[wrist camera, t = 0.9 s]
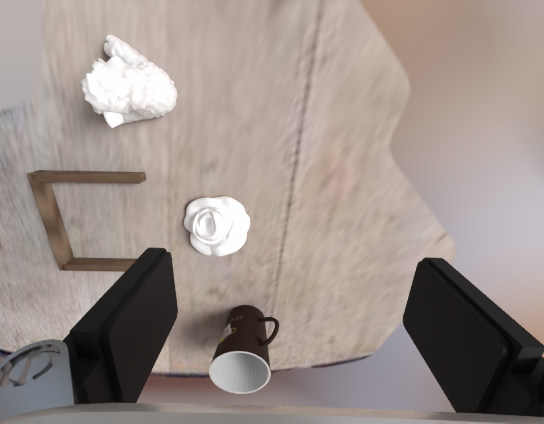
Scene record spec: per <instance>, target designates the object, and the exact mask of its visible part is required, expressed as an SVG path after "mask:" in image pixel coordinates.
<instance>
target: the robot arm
mask: <svg viewBox="0 0 544 424" xmlns="http://www.w3.org/2000/svg"><path fill="white" fill-rule="evenodd" d="M177 313H178V308H177V299H176V291H175V282H174V274H173V266H172V257H171V253H170V252H167V251H166V249H165V248H148V249H146V250H145V252H144V253H143V254H142V255H141V256H140V257H139V258H138V259H137V260H136V261H135V262H134V263H133V264H132V265H131V266H130V267H129V269H128V270H127V271H126V272H125V273H124V274H123V275H122V276H121V277H120V278H119V279H118V280H117V281H116V282H115V283H114V284H113V286H112V287H111V288H110V289H109V290H108V291H107V292H106V293H105V294H104V295H103V296H102V297H101V298H100V299H99V300H98V301H97V303H96V304H95V305H94V306H93V307H92V308H91V309H90V310H89V311H88V312H87V313H86V314H85V315H84V316H83V317H82V318H81V320H80V321H79V322H78V323H77V324H76V325H75V326H74V327H73V328H72V329H71V330H70V333H69V334H68V335H67V337H66V338H65V339H64V340H63V341H61V340H54V339H50V340H43V341H39V342H36V343H32V344H30V345H27V346H25V347H23V348H21V349H19V350H17V351H16V352H14V353H12V354H11V355H9V356H7V357H6V358H5V359H4V360H3V361H1V362H0V424H544V358H543V357H542V354H543V353H544V345H543V344H541V343H540V342H539V341H538V340H537V339H535V338H534V337H533V336H532V335H531V334H530V333H529V332H527V331H526V330H525V329H524V328H523V327H522V326H521V325H519V324H518V323H517V322H516V321H515V320H514V319H512V318H511V317H510V316H509V315H508V314H506V313H505V312H504V311H503V310H502V309H501V308H500V307H498V306H497V305H496V304H495V303H494V302H493V301H492V300H490V299H489V298H488V297H487V296H486V295H485V294H484V293H482V292H481V291H480V290H479V289H478V288H476V287H475V286H474V285H473V284H472V283H471V282H470V281H468V280H467V279H466V278H465V277H464V276H463V275H462V274H460V273H459V272H458V271H457V270H456V269H454V268H453V267H452V266H451V265H450V264H449V263H448V262H446V261H445V260H444V259H442V258H424V259H423V260H422V261H420V262H419V263H418V264H417V268H416V271H415V275H414V279H413V282H412V286H411V290H410V293H409V297H408V301H407V304H406V308H405V312H404V315H403V324H404V327H405V329H406V330H407V332H408V334H409V335H410V337H411V339H412V340H413V342H414V344H415V345H416V347H417V349H418V350H419V352H420V354H421V355H422V357H423V358H424V360H425V362H426V363H427V365H428V367H429V368H430V370H431V372H432V373H433V375H434V377H435V378H436V380H437V382H438V383H439V385H440V386H441V388H442V390H443V391H444V393H445V395H446V396H447V398H448V400H449V401H450V403H451V405H452V406H453V408H454V410H455V411H456V413H451V412H450V413H449V412H426V411H401V410H374V409H373V410H372V409H344V408H316V407H285V406H252V405H214V404H179V403H178V404H177V403H136V402H137V400H138V398H139V396H140V394H141V391H142V389H143V387H144V385H145V383H146V381H147V379H148V377H149V375H150V373H151V371H152V368H153V366H154V364H155V362H156V360H157V358H158V356H159V354H160V352H161V350H162V348H163V346H164V343H165V341H166V339H167V337H168V335H169V333H170V331H171V329H172V327H173V325H174V323H175V320H176V318H177Z"/></svg>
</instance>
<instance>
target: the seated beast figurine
mask: <svg viewBox="0 0 544 424" xmlns="http://www.w3.org/2000/svg"><path fill="white" fill-rule="evenodd" d="M106 40H107V41H108V43H105V44H104V51H105V53H106V54H107V55H108V56H109V57H111V58H110V59H109V60H108V61H107V62H104V61H103V60H102V59H100V58H98V59H97V61H94V62H93V64H92V65H91V68H92V71H91V72H90V73H87V74H86V78H84V79H82V80H81V82H80V83H81V85H82V91H83V92H84V93H85V100H86V101H87V102H89V103H90V104H91V105H92V107H93V111H94V112H96V113H97V114H102V113H103V115H104V117H105V120H106V122H107V123H108V125H109V126H110V127H112V128H113V127H116V126H118V125H120V124H124V123H131V122H133V121H138V120H142V119H144V120H145V119H151V118H154V117H155V118H158V117H160V116H164V115H165V114H167V113H168V112H171V110H172V109H173V108H174V107H175V105H176V98H177V97H178V95H177V89H176V88H175V87H174V82H173V81H172V80H171V79H170V77H169V76H168V74H166V73H165V72H164V71H163V70H162V69H161V68H160V67H157V66H156V65H155V64H153V63H152V62H149V61H147V59H146V58H145V57H144V56H142V55H140V54H139V53H138V52H137V51H136V50H135V49H132V48H131V47H130V46H129V45H128V44H127V43H124V42H123V41H121V40H119V39H118V38H117V37H115V36H113V35H108V36H107V38H106Z"/></svg>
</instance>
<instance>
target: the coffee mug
mask: <svg viewBox="0 0 544 424" xmlns="http://www.w3.org/2000/svg"><path fill="white" fill-rule="evenodd" d="M266 321H273V322H275V328H274V331H273V333H272V335H271V336H270V337H269V338H268V339H267V336H266V327H265V322H266ZM278 330H279V322H278V320H276V319H275V318H272V317H265V318H264V315H263V313H262V312H261V311H260V310H259V309H258V308H256V307H253V306H250V305H242V306H238V307H236V308H234V309H233V310H232V311H231V312H230V314H229V316H228V319H227V322H226V325H225V327H224V330H223V333H222V335H221V338H220V341H219V344H218V346H217V349H216V352H215V354H214V357H213V360H212V362H211V365H210V369H209V374H210V377H211V379H212V381H213V382H214V383H215V384H216V385H217V386H218V387H219V388H221V389H223V390H225V391H228V392H231V393H238V394H245V393H251V392H255V391H257V390H259V389H261V388H263V387H264V386H265V385H266V384H267V382H268V381H269V379H270V373H271V372H270V363H269V354H268V344H270V343H271V342H272V341H273V339H274V338H275V336H276V335H277V333H278Z"/></svg>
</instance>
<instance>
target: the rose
mask: <svg viewBox="0 0 544 424" xmlns="http://www.w3.org/2000/svg"><path fill="white" fill-rule="evenodd" d="M184 226H185V228H186V229H187V230H188V231H190V232H191V235H190V241H191V244H192V246H193V247H194V248H195V249H196V250H198V251H199V252H200V253H202V254H204V255H211V254H214V255H216V256H225V255H227V254H230V253H234V252H236V251H237V250H238V249H240V248H241V247H242V246H243V244H244V243H245V241H246V238H247V231H248V229H249V226H250V218H249V216H248V215H247V214H246V212H245V209H244V207H243V206H242V205H241V204H240V203H239V202H238V201H236V200H234V199H233V198H230V197H225V196H221V197H215V198H209V197H205V198H200V199H197V200H194V201H192V202H191V203H190V204H189V205H188V207H187V210H186V216H185V219H184Z"/></svg>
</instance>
